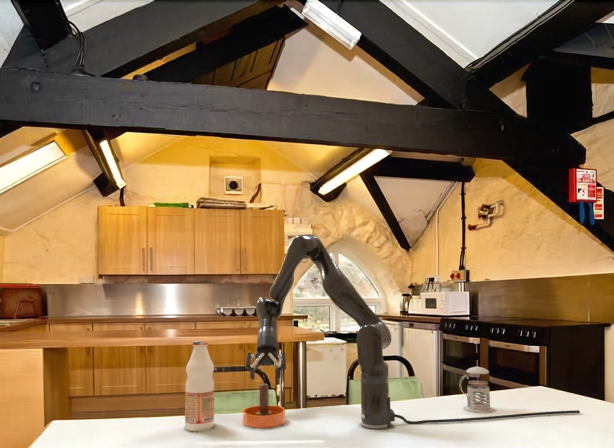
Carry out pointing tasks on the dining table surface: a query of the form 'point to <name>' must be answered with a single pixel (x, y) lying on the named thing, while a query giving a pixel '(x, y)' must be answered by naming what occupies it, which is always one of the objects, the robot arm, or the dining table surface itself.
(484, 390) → the french press
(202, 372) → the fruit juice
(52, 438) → the dining table surface
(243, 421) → the bowl
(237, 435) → the dining table surface
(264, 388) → the pestle
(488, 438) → the dining table surface
